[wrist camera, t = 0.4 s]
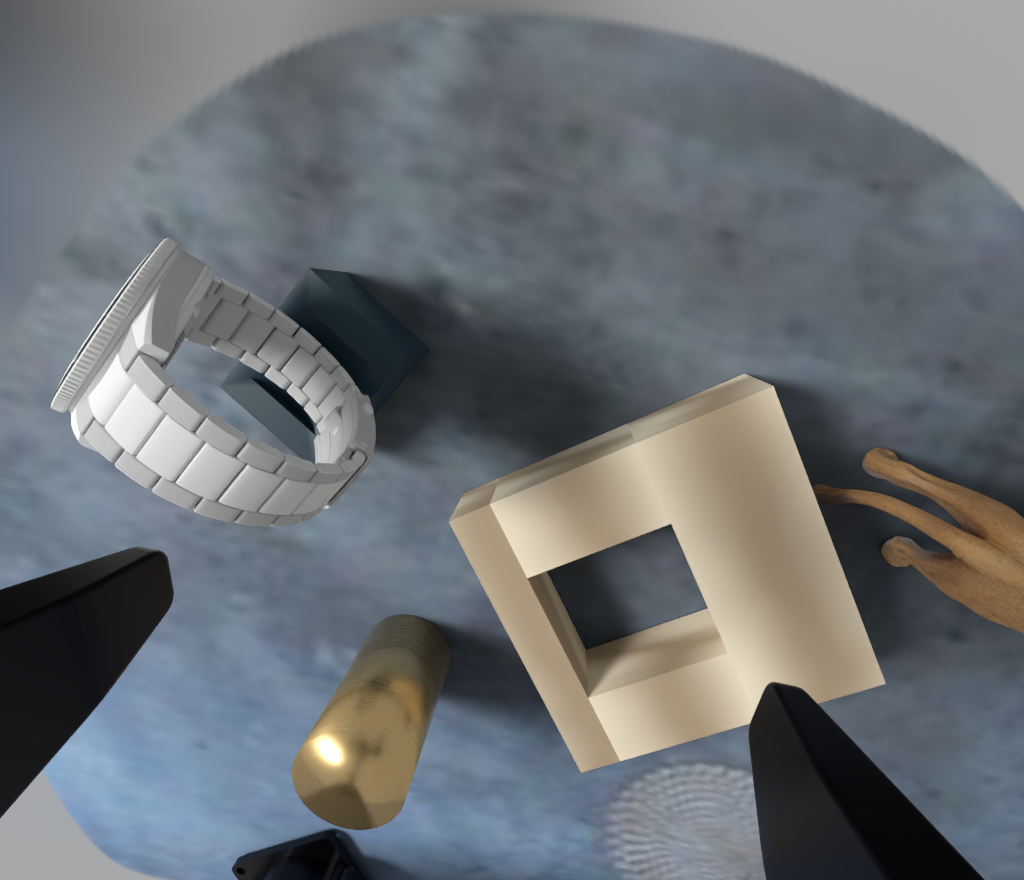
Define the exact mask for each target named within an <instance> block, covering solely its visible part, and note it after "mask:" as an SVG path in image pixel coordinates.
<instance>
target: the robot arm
mask: <svg viewBox="0 0 1024 880" xmlns="http://www.w3.org/2000/svg"><path fill="white" fill-rule="evenodd" d="M173 596H174V591H173V585H172V579H171V574H170V568H169V562H168V558H167V556H166V555H165V553H164V552H162V551H159V550H155V549H150V548H145V547H133V548H129V549H126V550H123V551H120V552H117V553H114V554H110V555H107V556H104V557H101V558H98V559H95V560H92V561H89V562H85V563H82V564H79V565H76V566H73V567H70V568H67V569H63V570H60V571H57V572H54V573H51V574H48V575H45V576H42V577H38V578H35V579H32V580H29V581H26V582H23V583H20V584H16V585H13V586H10V587H7V588H4V589H1V590H0V818H1V817H2V816H3V815H4V813H5V812H6V811H7V810H8V809H9V808H10V807H11V805H12V804H13V803H14V802H15V801H16V799H17V798H18V797H19V796H20V795H21V794H22V792H23V791H24V790H25V789H26V788H27V787H28V786H29V785H30V783H31V782H32V781H33V780H34V779H35V778H36V776H37V775H38V774H39V773H40V772H41V771H42V770H43V768H44V767H45V766H46V765H47V764H48V763H49V762H50V760H51V759H52V758H53V757H54V756H55V755H56V753H57V752H58V751H59V750H60V749H61V748H62V747H63V745H64V744H65V743H66V742H67V741H68V740H69V738H70V737H71V736H72V735H73V734H74V733H75V732H76V730H77V729H78V728H79V727H80V726H81V725H82V724H83V722H84V721H85V720H86V719H87V718H88V717H89V715H90V714H91V713H92V712H93V711H94V709H95V708H96V707H97V706H98V705H99V703H100V702H101V701H102V700H103V698H104V697H105V696H106V695H107V693H108V692H109V691H110V689H111V688H112V687H113V685H114V684H115V683H116V681H117V680H118V679H119V677H120V676H121V675H122V673H123V672H124V670H125V669H126V668H127V666H128V665H129V664H130V662H131V661H132V659H133V658H134V657H135V655H136V654H137V653H138V651H139V650H140V648H141V647H142V646H143V644H144V643H145V642H146V640H147V639H148V637H149V636H150V635H151V633H152V632H153V631H154V629H155V628H156V627H157V625H158V624H159V622H160V621H161V620H162V618H163V617H164V616H165V614H166V613H167V611H168V610H169V608H170V606H171V604H172V601H173ZM749 747H750V756H751V764H752V773H753V782H754V791H755V799H756V808H757V817H758V826H759V834H760V843H761V850H762V857H763V864H764V870H765V875H766V880H984V879H983V877H982V876H981V875H980V874H979V873H978V872H977V871H976V870H975V869H974V868H973V867H972V866H971V865H970V864H969V863H968V862H967V861H966V860H965V859H964V857H963V856H962V855H961V854H960V853H959V852H958V851H957V850H956V849H955V848H954V847H953V846H952V845H951V844H950V843H949V842H948V841H947V840H946V838H945V837H944V836H943V835H942V834H941V833H940V832H939V831H938V830H937V829H936V828H935V827H934V826H933V825H932V824H931V823H930V822H929V821H928V820H927V818H926V817H925V816H924V815H923V814H922V813H921V812H920V811H919V810H918V809H917V808H916V807H915V806H914V805H913V804H912V803H911V802H910V801H909V800H908V798H907V797H906V796H905V795H904V794H903V793H902V792H901V791H900V790H899V789H898V788H897V787H896V786H895V785H894V784H893V783H892V782H891V781H890V780H889V778H888V777H887V776H886V775H885V774H884V773H883V772H882V771H881V770H880V769H879V768H878V767H877V766H876V765H875V764H874V763H873V762H872V761H871V760H870V758H869V757H868V756H867V755H866V754H865V753H864V752H863V751H862V750H861V749H860V748H859V747H858V746H857V745H856V744H855V743H854V742H853V741H852V740H851V738H850V737H849V736H848V735H847V734H846V733H845V732H844V731H843V730H842V729H841V728H840V727H839V726H838V725H837V724H836V723H835V722H834V721H833V719H832V718H831V717H830V716H829V715H828V714H827V713H826V712H825V711H824V710H823V709H822V708H821V707H820V706H819V705H818V704H817V703H816V702H815V701H814V699H813V698H812V697H811V696H810V695H809V694H808V693H807V692H806V691H804V690H803V689H802V688H799V687H797V686H792V685H788V684H783V683H778V682H771V683H769V684H768V685H767V686H766V687H765V689H764V691H763V694H762V696H761V698H760V701H759V703H758V705H757V708H756V710H755V712H754V715H753V717H752V720H751V722H750V727H749ZM232 871H233V873H234V875H235V876H236V877H237V879H238V880H365V879H364V877H363V876H362V874H361V873H360V871H359V869H358V868H357V866H356V865H355V863H354V862H353V860H352V859H351V857H350V856H349V854H348V853H347V851H346V850H345V848H344V847H343V845H342V844H341V842H340V840H339V839H338V837H337V836H336V835H335V834H334V833H332V832H328V831H326V832H322V833H318V834H315V835H312V836H308V837H305V838H302V839H298V840H295V841H292V842H288V843H285V844H281V845H278V846H275V847H271V848H268V849H265V850H261V851H258V852H255V853H251V854H248V855H245V856H241V857H239V858H238V859H237V861H236V862H235V864H234V866H233V867H232Z"/></svg>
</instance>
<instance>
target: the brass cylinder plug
mask: <svg viewBox="0 0 1024 880" xmlns="http://www.w3.org/2000/svg"><path fill="white" fill-rule="evenodd" d="M450 660H451V653H450V648H449V645H448V642H447V640H446V638H445V637H444V635H443V634H442V633H441V631H440V630H439V629H438V628H437V627H436V626H434V625H433V624H432V623H430V622H428V621H427V620H425V619H422V618H420V617H416V616H412V615H395V616H391V617H388V618H386V619H384V620H382V621H380V622H379V623H378V624H377V625H376V626H375V627H374V628H373V629H372V631H371V633H370V634H369V636H368V637H367V639H366V641H365V642H364V644H363V646H362V647H361V649H360V651H359V652H358V654H357V656H356V657H355V659H354V661H353V662H352V664H351V666H350V667H349V669H348V671H347V672H346V674H345V676H344V677H343V679H342V681H341V682H340V684H339V686H338V687H337V689H336V691H335V692H334V694H333V696H332V697H331V699H330V701H329V702H328V704H327V706H326V707H325V709H324V711H323V712H322V714H321V716H320V717H319V719H318V721H317V722H316V724H315V726H314V727H313V729H312V731H311V732H310V734H309V736H308V737H307V739H306V741H305V742H304V744H303V746H302V747H301V749H300V751H299V752H298V754H297V756H296V757H295V760H294V763H293V767H292V778H293V783H294V787H295V789H296V792H297V794H298V795H299V797H300V799H301V800H302V801H303V803H304V804H305V805H306V806H307V807H308V808H309V809H310V810H311V811H312V812H313V813H314V814H315V815H317V816H318V817H320V818H321V819H323V820H325V821H327V822H329V823H331V824H333V825H336V826H339V827H342V828H347V829H354V830H366V829H372V828H377V827H379V826H382V825H384V824H386V823H388V822H389V821H391V820H392V819H393V818H394V817H395V816H396V815H397V814H398V813H399V812H400V810H401V809H402V807H403V804H404V802H405V799H406V796H407V793H408V790H409V786H410V783H411V780H412V777H413V774H414V771H415V768H416V765H417V762H418V759H419V756H420V753H421V750H422V747H423V744H424V741H425V738H426V735H427V732H428V729H429V726H430V723H431V720H432V717H433V714H434V711H435V708H436V705H437V702H438V699H439V696H440V693H441V690H442V687H443V684H444V681H445V678H446V675H447V672H448V669H449V665H450Z"/></svg>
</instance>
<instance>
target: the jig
mask: <svg viewBox="0 0 1024 880" xmlns="http://www.w3.org/2000/svg"><path fill="white" fill-rule="evenodd" d="M449 523H450V525H451V527H452V529H453V531H454V533H455V535H456V536H457V538H458V540H459V542H460V544H461V546H462V548H463V550H464V552H465V554H466V555H467V557H468V559H469V561H470V563H471V565H472V567H473V569H474V571H475V572H476V574H477V576H478V578H479V580H480V582H481V584H482V586H483V588H484V590H485V591H486V593H487V595H488V597H489V599H490V601H491V603H492V605H493V607H494V608H495V610H496V612H497V614H498V616H499V618H500V620H501V622H502V624H503V626H504V627H505V629H506V631H507V633H508V635H509V637H510V639H511V641H512V643H513V644H514V646H515V648H516V650H517V652H518V654H519V656H520V658H521V660H522V661H523V663H524V665H525V667H526V669H527V671H528V673H529V675H530V677H531V679H532V680H533V682H534V684H535V686H536V688H537V690H538V692H539V694H540V696H541V697H542V699H543V701H544V703H545V705H546V707H547V709H548V711H549V713H550V715H551V716H552V718H553V720H554V722H555V724H556V726H557V728H558V730H559V732H560V733H561V735H562V737H563V739H564V741H565V743H566V745H567V747H568V749H569V751H570V752H571V754H572V756H573V758H574V760H575V762H576V764H577V766H578V768H579V769H580V771H581V773H582V772H585V771H589V770H592V769H596V768H599V767H602V766H606V765H609V764H613V763H616V762H620V761H623V760H626V759H630V758H633V757H637V756H640V755H644V754H647V753H650V752H654V751H657V750H661V749H664V748H668V747H671V746H674V745H678V744H681V743H685V742H688V741H692V740H695V739H698V738H702V737H705V736H709V735H712V734H715V733H719V732H722V731H726V730H729V729H733V728H736V727H739V726H743V725H746V724H750V722H751V720H752V717H753V715H754V712H755V710H756V708H757V705H758V703H759V701H760V698H761V696H762V694H763V691H764V689H765V687H766V686H767V685H768V684H769V683H771V682H778V683H783V684H788V685H792V686H797V687H799V688H802V689H803V690H804V691H806V692H807V693H808V694H809V695H810V696H811V697H812V698H813V699H814V701H815V702H816V703H817V704H818V703H822V702H825V701H829V700H832V699H835V698H839V697H842V696H846V695H849V694H853V693H856V692H859V691H863V690H866V689H870V688H873V687H876V686H880V685H883V684H886V683H885V681H884V678H883V675H882V673H881V670H880V667H879V665H878V662H877V659H876V657H875V654H874V651H873V649H872V646H871V643H870V641H869V638H868V635H867V633H866V630H865V627H864V625H863V622H862V619H861V617H860V614H859V612H858V609H857V606H856V604H855V601H854V598H853V596H852V593H851V590H850V588H849V585H848V582H847V580H846V577H845V574H844V572H843V569H842V566H841V564H840V561H839V558H838V556H837V553H836V551H835V548H834V545H833V543H832V540H831V537H830V535H829V532H828V529H827V527H826V524H825V521H824V519H823V516H822V513H821V511H820V508H819V505H818V503H817V500H816V497H815V495H814V492H813V489H812V487H811V484H810V482H809V479H808V476H807V474H806V471H805V468H804V466H803V463H802V460H801V458H800V455H799V452H798V450H797V447H796V444H795V442H794V439H793V436H792V434H791V431H790V428H789V426H788V423H787V421H786V418H785V415H784V413H783V410H782V407H781V405H780V402H779V399H778V397H777V394H776V391H775V389H774V386H772V385H770V384H768V383H765V382H763V381H761V380H758V379H756V378H754V377H751V376H749V375H747V374H742V375H740V376H738V377H735V378H733V379H731V380H728V381H726V382H724V383H721V384H719V385H717V386H714V387H712V388H709V389H707V390H705V391H702V392H700V393H698V394H695V395H693V396H691V397H688V398H686V399H684V400H681V401H679V402H677V403H674V404H672V405H670V406H667V407H665V408H663V409H660V410H658V411H655V412H653V413H651V414H648V415H646V416H644V417H641V418H639V419H637V420H634V421H632V422H630V423H627V424H625V425H623V426H620V427H618V428H616V429H613V430H611V431H609V432H606V433H604V434H601V435H599V436H597V437H594V438H592V439H590V440H587V441H585V442H583V443H580V444H578V445H576V446H573V447H571V448H569V449H566V450H564V451H562V452H559V453H557V454H555V455H552V456H550V457H547V458H545V459H543V460H540V461H538V462H536V463H533V464H531V465H529V466H526V467H524V468H522V469H519V470H517V471H515V472H512V473H510V474H508V475H505V476H503V477H501V478H498V479H496V480H493V481H491V482H489V483H486V484H484V485H482V486H479V487H477V488H475V489H472V490H470V491H468V492H465V493H464V494H463V496H462V498H461V500H460V501H459V503H458V505H457V507H456V509H455V510H454V512H453V514H452V516H451V518H450V520H449ZM669 524H671V525H672V527H673V529H674V532H675V534H676V536H677V538H678V541H679V543H680V545H681V548H682V550H683V552H684V554H685V557H686V559H687V561H688V564H689V566H690V568H691V570H692V573H693V575H694V577H695V579H696V582H697V584H698V586H699V589H700V591H701V593H702V595H703V598H704V600H705V602H706V605H707V607H708V608H707V609H704V610H701V611H699V612H696V613H693V614H690V615H687V616H684V617H681V618H678V619H675V620H672V621H669V622H666V623H663V624H660V625H658V626H655V627H652V628H649V629H646V630H643V631H640V632H637V633H634V634H631V635H628V636H625V637H622V638H619V639H616V640H614V641H611V642H608V643H605V644H602V645H599V646H596V647H593V648H590V649H587V650H586V649H585V647H584V645H583V643H582V641H581V639H580V637H579V635H578V633H577V631H576V629H575V627H574V625H573V623H572V621H571V619H570V617H569V615H568V613H567V611H566V609H565V607H564V605H563V603H562V601H561V599H560V597H559V595H558V593H557V591H556V589H555V587H554V585H553V583H552V581H551V579H550V577H549V575H548V573H547V571H548V570H551V569H553V568H556V567H559V566H561V565H564V564H566V563H569V562H572V561H574V560H577V559H580V558H582V557H585V556H588V555H590V554H593V553H595V552H598V551H601V550H603V549H606V548H609V547H611V546H614V545H617V544H619V543H622V542H624V541H627V540H630V539H632V538H635V537H638V536H640V535H643V534H646V533H648V532H651V531H653V530H656V529H659V528H661V527H664V526H667V525H669Z"/></svg>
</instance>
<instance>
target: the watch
mask: <svg viewBox="0 0 1024 880" xmlns="http://www.w3.org/2000/svg"><path fill="white" fill-rule="evenodd" d="M177 245H178V244H177V243H176V242H174V241H173V240H171V239H170V238H166V239H165V240H163V241H162V242H161V243H160V244H159V245H158V246H157V247H156V248H155V249H154V250H152V251H151V252H150V253H149V254H148V256H147V257H146V258H145V259H144V260H143V261H142V262H141V264H140V265H139V266H138V267H137V269H136V270H135V271H134V272H133V274H132V275H131V276H130V278H129V279H128V280H127V282H126V283H125V284H124V286H123V287H122V289H121V290H120V291H119V293H118V294H117V295H116V297H115V298H114V300H113V301H112V302H111V304H110V305H109V307H108V308H107V310H106V311H105V312H104V314H103V315H102V317H101V318H100V320H99V321H98V323H97V324H96V326H95V327H94V329H93V330H92V332H91V333H90V334H89V336H88V337H87V339H86V341H85V342H84V344H83V345H82V347H81V348H80V350H79V351H78V353H77V354H76V355H75V357H74V359H73V361H72V362H71V364H70V366H69V367H68V369H67V371H66V372H65V374H64V376H63V378H62V380H61V382H60V384H59V386H58V388H57V391H56V393H55V395H54V398H53V400H52V404H51V408H52V409H54V410H56V411H59V412H61V413H63V412H65V411H66V410H68V411H70V412H71V414H72V415H71V425H72V429H73V432H74V434H75V436H76V438H77V439H78V441H79V442H80V444H81V445H82V446H85V447H87V448H90V449H92V450H95V451H97V452H100V453H101V454H102V455H103V456H104V457H106V458H107V459H108V460H109V461H111V462H115V461H117V462H116V463H115V466H116V467H117V468H118V469H119V470H121V471H122V472H123V473H125V474H126V475H127V476H129V477H130V478H132V479H133V480H135V481H136V482H138V483H139V484H141V485H142V486H144V487H146V488H152V487H153V486H154V488H153V489H152V491H153V492H154V493H155V494H157V495H159V496H161V497H163V498H165V499H166V500H169V501H171V502H173V503H175V504H177V505H180V506H182V507H185V508H187V509H192V508H193V507H194V506H195V507H194V511H195V512H197V513H199V514H202V515H205V516H208V517H212V518H215V519H219V520H223V521H228V522H232V521H234V519H235V522H237V523H240V524H246V525H255V526H269V525H270V524H271V525H272V526H285V525H291V524H296V523H299V521H300V522H303V521H306V520H308V519H310V518H312V517H313V516H315V515H316V514H317V513H319V512H320V511H321V510H322V509H323V508H325V509H328V508H329V507H330V506H331V505H332V504H333V503H334V502H335V501H336V500H337V499H338V498H339V497H340V496H341V495H342V494H343V493H344V492H345V491H346V490H347V489H348V488H349V487H350V485H351V484H352V483H353V482H354V481H355V480H356V478H357V477H358V476H359V475H360V474H361V472H362V471H363V470H364V469H365V468H366V466H367V465H368V464H369V463H370V461H371V460H372V457H373V453H374V449H375V443H376V425H375V419H374V413H375V411H376V410H377V409H378V408H379V407H380V406H381V405H382V403H383V402H384V401H385V400H386V399H387V398H388V396H389V395H390V394H391V393H392V392H393V391H394V390H395V388H396V387H397V386H398V385H399V384H400V383H401V382H402V380H403V379H404V378H405V377H406V376H407V375H408V373H409V372H410V371H411V370H412V369H413V368H414V367H415V365H416V364H417V363H418V362H419V361H420V360H421V359H422V357H423V356H424V355H425V354H426V353H427V352H428V350H429V349H428V348H427V347H426V346H425V345H424V344H423V343H422V342H421V341H420V340H419V339H417V338H416V337H415V336H414V335H413V334H412V333H411V332H410V331H409V330H408V329H407V328H406V327H405V326H404V325H402V324H401V323H400V322H399V321H398V320H397V319H396V318H395V317H394V316H393V315H392V314H391V313H390V312H389V311H387V310H386V309H385V308H384V307H383V306H382V305H381V304H380V303H379V302H378V301H377V300H376V299H375V298H374V297H372V296H371V295H370V294H369V293H368V292H367V291H366V290H365V289H364V288H363V287H362V286H361V285H360V284H359V283H357V282H356V281H355V280H354V279H353V278H352V277H351V276H350V275H349V274H348V273H347V272H340V271H331V270H323V269H315V268H308V270H307V271H306V272H305V274H304V275H303V276H302V278H301V279H300V280H299V282H298V283H297V284H296V286H295V287H294V288H293V290H292V291H291V292H290V294H289V295H288V296H287V298H286V299H285V300H284V302H283V303H282V304H281V306H280V307H279V308H278V309H275V311H274V307H273V306H272V305H270V304H269V303H267V302H266V301H264V300H262V299H261V298H259V297H257V296H256V295H254V294H252V293H250V292H249V293H247V291H246V290H244V289H242V288H241V287H239V286H237V285H235V284H233V283H231V282H229V281H227V280H225V279H222V278H221V279H219V278H218V277H216V276H214V274H213V273H212V272H213V271H214V269H213V268H211V267H210V266H208V265H207V264H205V263H204V262H202V261H200V260H199V259H197V258H195V257H193V256H191V255H190V254H188V253H186V252H185V251H181V250H179V249H178V248H177ZM248 311H249V312H248ZM273 311H274V312H273ZM272 312H273V313H272ZM246 314H247V315H246ZM271 314H272V315H271ZM270 315H271V316H270ZM269 316H270V317H269ZM243 318H244V319H243ZM240 322H241V323H240ZM237 326H238V327H237ZM235 329H236V330H235ZM232 333H233V334H232ZM229 337H230V338H229ZM184 339H185V340H187V341H190V342H193V343H197V344H200V345H203V346H207V347H210V346H211V345H212V347H213V349H215V350H216V351H219V352H221V353H224V354H226V355H228V356H231V357H233V358H236V359H237V358H239V356H240V355H241V354H242V355H241V356H240V360H239V361H238V363H237V364H236V365H235V367H234V368H233V369H232V371H231V372H230V373H229V375H228V376H227V377H226V379H225V380H224V381H223V383H222V384H221V385H220V388H222V389H223V390H224V391H225V392H226V393H227V394H228V395H230V396H231V397H232V398H233V399H234V400H235V401H236V402H238V403H239V404H240V405H241V406H242V407H243V408H244V409H246V410H247V411H248V412H249V413H250V414H251V415H252V416H253V417H255V418H256V419H257V420H258V421H259V422H260V423H261V424H263V425H264V426H265V427H266V428H267V429H268V430H269V431H271V432H272V433H273V434H274V435H275V436H276V437H277V438H279V439H280V440H281V441H282V442H283V443H284V444H285V445H286V446H288V447H289V448H290V449H291V450H292V451H293V452H294V453H296V454H297V455H298V456H299V457H300V458H297V457H294V456H292V455H288V454H287V455H284V456H283V454H282V452H281V451H279V450H278V449H275V448H273V447H271V446H269V445H266V444H264V443H262V442H260V441H258V440H257V439H254V438H249V439H248V440H247V441H246V436H245V435H244V433H242V432H241V431H239V430H238V429H236V428H234V427H233V426H231V425H230V424H228V423H227V422H225V421H224V420H222V419H221V418H219V417H218V416H215V415H210V416H208V410H207V409H206V408H205V407H204V406H202V405H201V404H200V403H199V402H197V401H196V400H195V399H194V398H193V397H192V396H191V395H190V394H188V393H187V392H186V391H185V390H184V389H182V388H181V387H176V386H175V387H173V386H174V384H175V383H174V381H173V379H172V378H171V377H170V376H169V375H168V374H167V373H166V372H165V371H164V370H165V368H166V367H167V365H168V364H169V362H170V361H171V359H172V358H173V356H174V355H175V353H176V352H177V350H178V348H179V347H180V345H181V344H182V342H183V341H184ZM244 350H245V351H244ZM243 351H244V352H243ZM242 352H243V353H242ZM207 416H208V417H207ZM206 417H207V418H206ZM205 418H206V419H205ZM203 421H204V422H203ZM202 422H203V423H202ZM200 425H201V426H200ZM199 426H200V427H199ZM205 441H206V443H205V444H204V442H205ZM245 441H246V443H245ZM244 443H245V444H244ZM203 444H204V446H203V447H202V448H201V450H200V451H199V452H198V454H197V455H196V456H195V457H194V459H193V460H192V461H191V463H190V464H189V465H188V467H187V468H186V469H185V470H184V472H183V473H182V474H181V476H180V477H179V475H180V473H181V472H182V471H183V469H184V468H185V467H186V466H187V464H188V463H189V462H190V460H191V459H192V458H193V456H194V455H195V454H196V453H197V451H198V450H199V449H200V447H201V446H202V445H203ZM243 444H244V445H243ZM241 447H242V448H241ZM240 448H241V449H240ZM237 473H238V474H237ZM161 476H162V477H161ZM233 478H234V479H233ZM159 479H160V480H159ZM158 480H159V481H158ZM156 483H157V484H156ZM229 483H230V484H229ZM155 484H156V485H155ZM220 494H221V495H220ZM201 497H202V498H201ZM200 498H201V499H200ZM198 501H199V502H198ZM197 502H198V503H197ZM196 503H197V504H196Z"/></svg>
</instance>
